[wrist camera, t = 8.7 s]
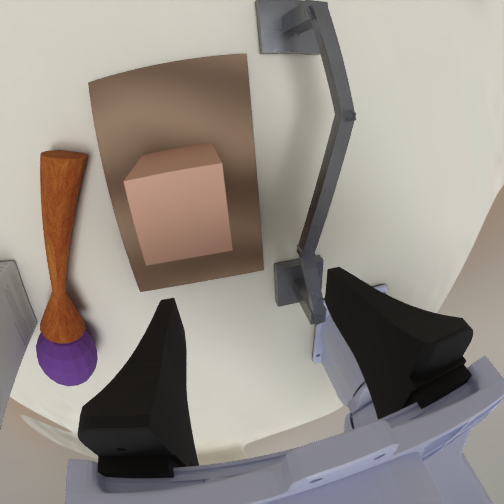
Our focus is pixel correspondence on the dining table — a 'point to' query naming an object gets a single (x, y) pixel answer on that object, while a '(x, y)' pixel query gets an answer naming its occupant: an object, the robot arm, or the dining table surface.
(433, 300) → the dining table surface
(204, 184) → the block
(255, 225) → the walnut board
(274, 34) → the grey door handle
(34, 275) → the dining table surface
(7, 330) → the supplement box
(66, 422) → the dining table surface
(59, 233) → the kendama
